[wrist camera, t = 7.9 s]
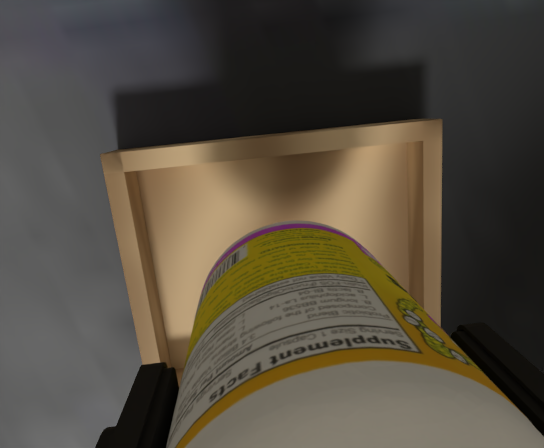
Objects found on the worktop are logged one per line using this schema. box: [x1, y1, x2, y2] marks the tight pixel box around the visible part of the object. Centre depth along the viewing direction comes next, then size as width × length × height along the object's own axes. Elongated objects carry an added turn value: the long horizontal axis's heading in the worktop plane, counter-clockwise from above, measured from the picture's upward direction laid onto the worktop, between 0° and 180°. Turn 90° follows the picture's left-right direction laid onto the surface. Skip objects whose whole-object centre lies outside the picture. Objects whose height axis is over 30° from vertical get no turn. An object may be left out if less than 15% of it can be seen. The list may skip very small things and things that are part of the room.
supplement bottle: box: [166, 220, 544, 448], centre depth 9 cm, size 7×7×13 cm
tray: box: [100, 119, 442, 387], centre depth 19 cm, size 14×12×2 cm
